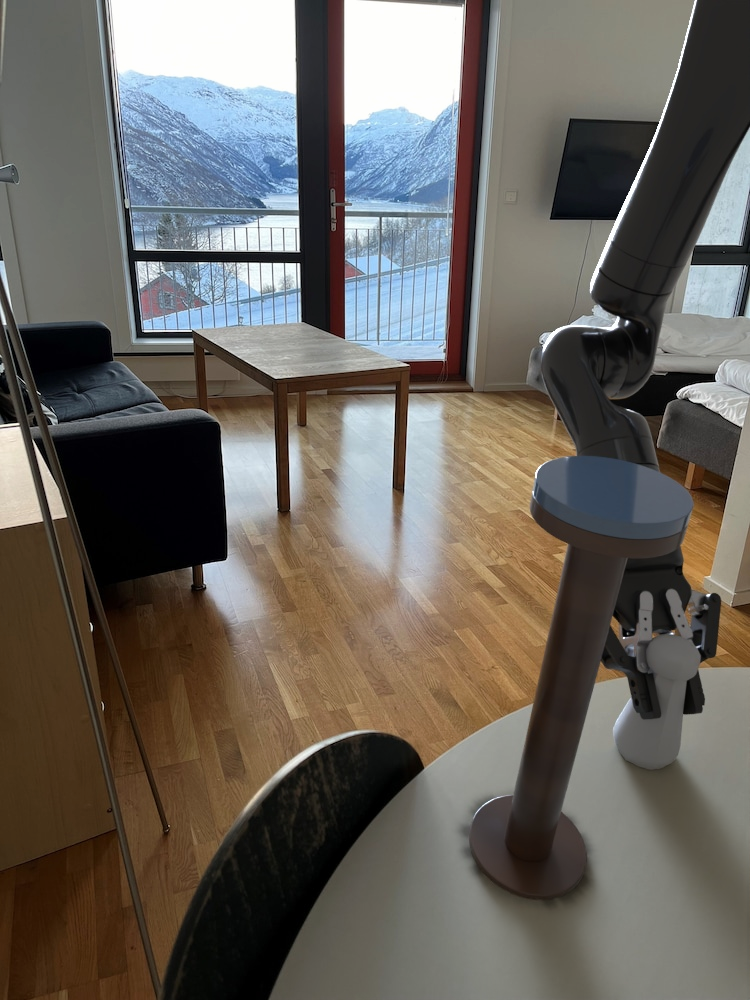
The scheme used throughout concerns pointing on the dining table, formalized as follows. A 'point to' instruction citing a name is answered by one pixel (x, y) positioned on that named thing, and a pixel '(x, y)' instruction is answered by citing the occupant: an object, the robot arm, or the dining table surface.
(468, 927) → the dining table surface
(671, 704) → the salt shaker
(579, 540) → the stand
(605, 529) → the blue round disc
